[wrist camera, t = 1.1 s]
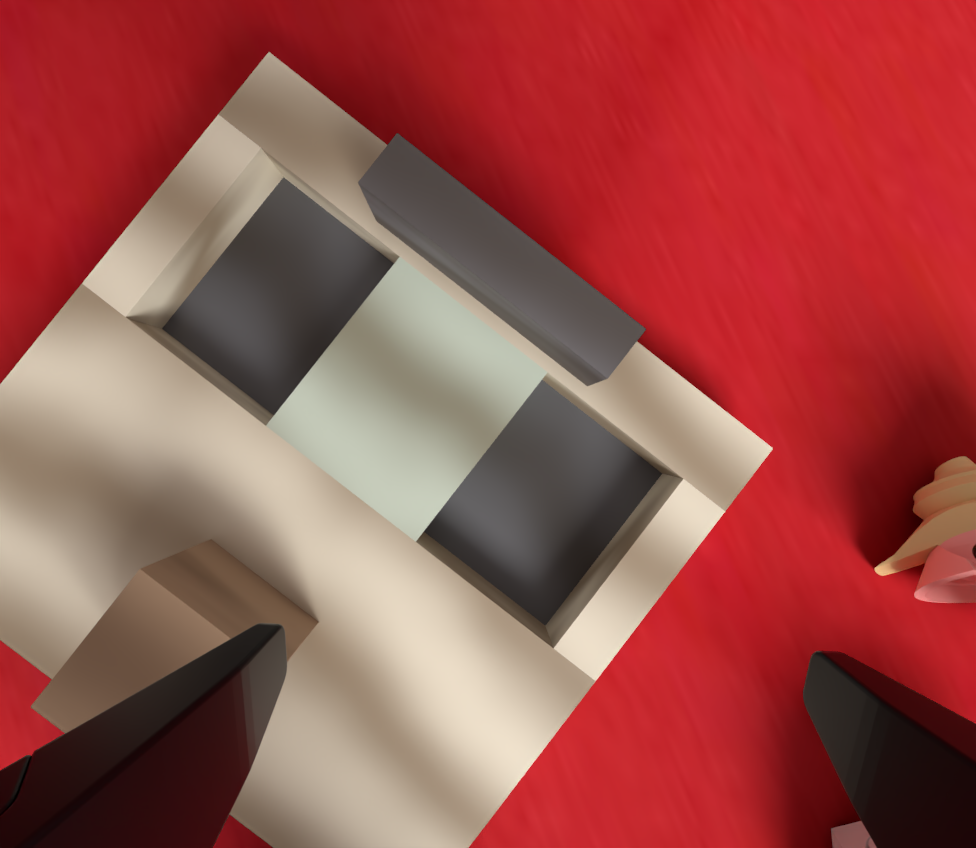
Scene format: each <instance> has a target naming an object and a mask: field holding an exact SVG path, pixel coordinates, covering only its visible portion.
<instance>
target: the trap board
mask: <svg viewBox="0 0 976 848" xmlns="http://www.w3.org/2000/svg"><path fill="white" fill-rule="evenodd" d="M645 330H646V329H645V328H644V327H643V326H642V325H640V324H639V323H638V322H637V321H635V320H634V319H633V318H631V317H630V316H629V315H628V314H626V313H625V312H624V311H623V310H621V309H620V308H619V307H617V306H616V305H615V304H614V303H612V302H611V301H610V300H609V299H607V298H606V297H605V296H604V295H602V294H601V293H600V292H598V291H597V290H596V289H595V288H593V287H592V286H591V285H590V284H588V283H587V282H586V281H584V280H583V279H582V278H581V277H579V276H578V275H577V274H576V273H574V272H573V271H572V270H570V269H569V268H568V267H567V266H565V265H564V264H563V263H562V262H560V261H559V260H558V259H557V258H555V257H554V256H553V255H551V254H550V253H549V252H548V251H546V250H545V249H544V248H543V247H541V246H540V245H539V244H537V243H536V242H535V241H534V240H532V239H531V238H530V237H529V236H527V235H526V234H525V233H524V232H522V231H521V230H520V229H518V228H517V227H516V226H515V225H513V224H512V223H511V222H510V221H508V220H507V219H506V218H504V217H503V216H502V215H501V214H499V213H498V212H497V211H496V210H494V209H493V208H492V207H490V206H489V205H488V204H487V203H485V202H484V201H483V200H482V199H480V198H479V197H478V196H477V195H475V194H474V193H473V192H471V191H470V190H469V189H468V188H466V187H465V186H464V185H463V184H461V183H460V182H459V181H457V180H456V179H455V178H454V177H452V176H451V175H450V174H449V173H447V172H446V171H445V170H443V169H442V168H441V167H440V166H438V165H437V164H436V163H435V162H433V161H432V160H431V159H430V158H428V157H427V156H426V155H424V154H423V153H422V152H421V151H419V150H418V149H417V148H416V147H414V146H413V145H412V144H410V143H409V142H408V141H407V140H405V139H404V138H403V137H402V136H400V135H399V134H398V133H397V134H396V135H395V136H394V138H393V139H392V140H391V141H390V143H389V144H388V145H387V144H385V143H384V142H383V141H382V140H380V139H379V138H378V137H377V136H375V135H374V134H373V133H371V132H370V131H369V130H368V129H366V128H365V127H364V126H363V125H361V124H360V123H359V122H357V121H356V120H355V119H354V118H352V117H351V116H350V115H349V114H347V113H346V112H345V111H344V110H342V109H341V108H340V107H338V106H337V105H336V104H335V103H333V102H332V101H331V100H330V99H328V98H327V97H326V96H324V95H323V94H322V93H321V92H319V91H318V90H317V89H316V88H314V87H313V86H312V85H310V84H309V83H308V82H307V81H305V80H304V79H303V78H302V77H300V76H299V75H298V74H296V73H295V72H294V71H293V70H291V69H290V68H289V67H288V66H286V65H285V64H284V63H283V62H281V61H280V60H279V59H277V58H276V57H275V56H274V55H272V54H271V53H270V52H268V54H267V55H266V56H265V57H264V59H263V60H262V61H261V62H260V63H259V65H258V66H257V67H256V68H255V70H254V71H253V72H252V73H251V75H250V76H249V77H248V78H247V80H246V81H245V82H244V83H243V85H242V86H241V87H240V88H239V89H238V91H237V92H236V93H235V94H234V96H233V97H232V98H231V99H230V101H229V102H228V103H227V104H226V106H225V107H224V108H223V109H222V111H221V112H220V113H219V114H218V115H217V117H216V118H215V119H214V120H213V122H212V123H211V124H210V125H209V127H208V128H207V129H206V130H205V132H204V133H203V134H202V135H201V137H200V138H199V139H198V140H197V141H196V143H195V144H194V145H193V146H192V148H191V149H190V150H189V151H188V153H187V154H186V155H185V156H184V158H183V159H182V160H181V161H180V163H179V164H178V165H177V166H176V167H175V169H174V170H173V171H172V172H171V174H170V175H169V176H168V177H167V179H166V180H165V181H164V182H163V184H162V185H161V186H160V187H159V189H158V190H157V191H156V192H155V193H154V195H153V196H152V197H151V198H150V200H149V201H148V202H147V203H146V205H145V206H144V207H143V208H142V210H141V211H140V212H139V213H138V215H137V216H136V217H135V218H134V219H133V221H132V222H131V223H130V224H129V226H128V227H127V228H126V229H125V231H124V232H123V233H122V234H121V236H120V237H119V238H118V239H117V241H116V242H115V243H114V244H113V245H112V247H111V248H110V249H109V250H108V252H107V253H106V254H105V255H104V257H103V258H102V259H101V260H100V262H99V263H98V264H97V265H96V267H95V268H94V269H93V270H92V271H91V273H90V274H89V275H88V276H87V278H86V279H85V280H84V281H83V283H82V284H81V285H80V286H79V288H78V289H77V290H76V291H75V293H74V294H73V295H72V296H71V297H70V299H69V300H68V301H67V302H66V304H65V305H64V306H63V307H62V309H61V310H60V311H59V312H58V314H57V315H56V316H55V317H54V319H53V320H52V321H51V322H50V323H49V325H48V326H47V327H46V328H45V330H44V331H43V332H42V333H41V335H40V336H39V337H38V338H37V340H36V341H35V342H34V343H33V345H32V346H31V347H30V348H29V349H28V351H27V352H26V353H25V354H24V356H23V357H22V358H21V359H20V361H19V362H18V363H17V364H16V366H15V367H14V368H13V369H12V371H11V372H10V373H9V374H8V375H7V377H6V378H5V379H4V380H3V382H2V383H1V384H0V640H1V641H2V642H3V643H5V644H6V645H7V646H9V647H10V648H11V649H13V650H14V651H15V652H17V653H18V654H19V655H21V656H22V657H23V658H24V659H26V660H27V661H28V662H30V663H31V664H32V665H34V666H35V667H36V668H38V669H39V670H40V671H42V672H43V673H44V674H46V675H47V676H48V677H49V678H51V679H53V678H54V677H55V675H56V674H57V673H58V671H59V670H60V669H61V668H62V666H63V665H64V664H65V663H66V661H67V660H68V659H69V658H70V656H71V655H72V654H73V653H74V651H75V650H76V649H77V647H78V646H79V645H80V644H81V642H82V641H83V640H84V639H85V637H86V636H87V635H88V634H89V632H90V631H91V630H92V629H93V627H94V626H95V625H96V624H97V622H98V621H99V620H100V618H101V617H102V616H103V615H104V613H105V612H106V611H107V610H108V608H109V607H110V606H111V605H112V603H113V602H114V601H115V600H116V598H117V597H118V596H119V594H120V593H121V592H122V591H123V589H124V588H125V587H126V586H127V584H128V583H129V582H130V581H131V579H132V578H133V577H134V576H135V574H136V573H137V572H138V570H139V569H141V568H143V567H145V566H148V565H150V564H153V563H155V562H157V561H160V560H162V559H164V558H167V557H169V556H172V555H174V554H176V553H179V552H181V551H184V550H186V549H188V548H191V547H193V546H196V545H198V544H200V543H203V542H205V541H208V540H210V539H212V540H213V541H214V542H216V543H217V544H218V545H219V546H221V547H222V548H223V549H225V550H226V551H227V552H229V553H230V554H231V555H232V556H234V557H235V558H236V559H238V560H239V561H240V562H242V563H243V564H244V565H245V566H247V567H248V568H249V569H251V570H252V571H253V572H255V573H256V574H257V575H258V576H260V577H261V578H262V579H264V580H265V581H266V582H268V583H269V584H270V585H271V586H273V587H274V588H275V589H277V590H278V591H279V592H281V593H282V594H283V595H284V596H286V597H287V598H288V599H290V600H291V601H292V602H294V603H295V604H296V605H297V606H299V607H300V608H301V609H303V610H304V611H305V612H307V613H308V614H309V615H310V616H312V617H313V618H314V619H316V620H317V621H318V624H317V625H316V626H315V628H314V629H313V630H312V631H311V633H310V634H309V635H308V637H307V638H306V639H305V640H304V642H303V643H302V644H301V646H300V647H299V648H298V649H297V651H296V652H295V653H294V655H293V656H292V657H291V658H290V660H289V661H288V662H287V673H286V677H285V681H284V684H283V686H282V689H281V692H280V694H279V697H278V699H277V702H276V705H275V707H274V710H273V713H272V715H271V718H270V721H269V723H268V726H267V729H266V731H265V734H264V737H263V739H262V742H261V745H260V747H259V750H258V753H257V755H256V758H255V760H254V763H253V765H252V768H251V770H250V772H249V775H248V777H247V779H246V781H245V783H244V785H243V787H242V790H241V792H240V794H239V796H238V798H237V800H236V802H235V804H234V806H233V808H232V810H231V812H230V815H231V816H232V817H234V818H235V819H236V820H238V821H239V822H240V823H241V824H243V825H244V826H245V827H247V828H248V829H249V830H251V831H252V832H253V833H255V834H256V835H257V836H259V837H260V838H261V839H263V840H264V841H265V842H266V843H268V844H269V845H270V846H272V847H273V848H469V846H470V845H471V844H472V842H473V841H474V840H475V838H476V837H477V836H478V834H479V833H480V832H481V831H482V829H483V828H484V827H485V825H486V824H487V823H488V821H489V820H490V819H491V817H492V816H493V815H494V814H495V812H496V811H497V810H498V808H499V807H500V806H501V804H502V803H503V802H504V800H505V799H506V798H507V796H508V795H509V794H510V793H511V791H512V790H513V789H514V787H515V786H516V785H517V783H518V782H519V781H520V779H521V778H522V777H523V776H524V774H525V773H526V772H527V770H528V769H529V768H530V766H531V765H532V764H533V762H534V761H535V760H536V758H537V757H538V756H539V755H540V753H541V752H542V751H543V749H544V748H545V747H546V745H547V744H548V743H549V741H550V740H551V739H552V738H553V736H554V735H555V734H556V732H557V731H558V730H559V728H560V727H561V726H562V724H563V723H564V722H565V720H566V719H567V718H568V717H569V715H570V714H571V713H572V711H573V710H574V709H575V707H576V706H577V705H578V703H579V702H580V701H581V700H582V698H583V697H584V696H585V694H586V693H587V692H588V690H589V689H590V688H591V686H592V685H593V684H594V683H595V681H596V680H597V679H598V677H599V676H600V675H601V673H602V672H603V671H604V669H605V668H606V667H607V665H608V664H609V663H610V662H611V660H612V659H613V658H614V656H615V655H616V654H617V652H618V651H619V650H620V648H621V647H622V646H623V645H624V643H625V642H626V641H627V639H628V638H629V637H630V635H631V634H632V633H633V631H634V630H635V629H636V627H637V626H638V625H639V624H640V622H641V621H642V620H643V618H644V617H645V616H646V614H647V613H648V612H649V610H650V609H651V608H652V607H653V605H654V604H655V603H656V601H657V600H658V599H659V597H660V596H661V595H662V593H663V592H664V591H665V589H666V588H667V587H668V586H669V584H670V583H671V582H672V580H673V579H674V578H675V576H676V575H677V574H678V572H679V571H680V570H681V569H682V567H683V566H684V565H685V563H686V562H687V561H688V559H689V558H690V557H691V555H692V554H693V553H694V551H695V550H696V549H697V548H698V546H699V545H700V544H701V542H702V541H703V540H704V538H705V537H706V536H707V534H708V533H709V532H710V531H711V529H712V528H713V527H714V525H715V524H716V523H717V521H718V520H719V519H720V517H721V516H722V515H723V513H724V512H725V511H726V510H727V508H728V507H729V506H730V504H731V503H732V502H733V500H734V499H735V498H736V496H737V495H738V494H739V493H740V491H741V490H742V489H743V487H744V486H745V485H746V483H747V482H748V481H749V479H750V478H751V477H752V475H753V474H754V473H755V472H756V470H757V469H758V468H759V466H760V465H761V464H762V462H763V461H764V460H765V458H766V457H767V456H768V455H769V453H770V452H771V451H772V449H773V448H772V447H771V446H769V445H768V444H767V443H765V442H764V441H763V440H762V439H760V438H759V437H758V436H757V435H755V434H754V433H753V432H751V431H750V430H749V429H748V428H746V427H745V426H744V425H743V424H741V423H740V422H739V421H738V420H736V419H735V418H734V417H732V416H731V415H730V414H729V413H727V412H726V411H725V410H724V409H722V408H721V407H720V406H718V405H717V404H716V403H715V402H713V401H712V400H711V399H710V398H708V397H707V396H706V395H704V394H703V393H702V392H701V391H699V390H698V389H697V388H696V387H694V386H693V385H692V384H690V383H689V382H688V381H687V380H685V379H684V378H683V377H682V376H680V375H679V374H678V373H677V372H675V371H674V370H673V369H671V368H670V367H669V366H668V365H666V364H665V363H664V362H663V361H661V360H660V359H659V358H657V357H656V356H655V355H654V354H652V353H651V352H650V351H649V350H647V349H646V348H645V347H643V346H642V345H641V344H640V343H638V342H637V340H638V339H639V338H640V337H641V335H642V334H643V333H644V331H645Z"/></svg>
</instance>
